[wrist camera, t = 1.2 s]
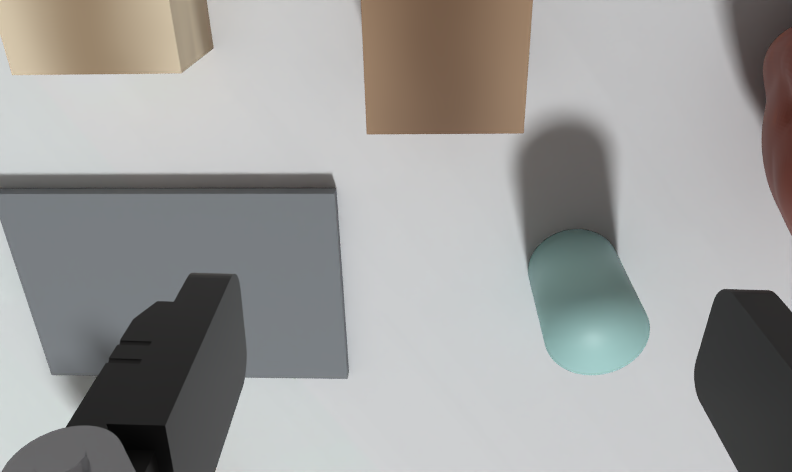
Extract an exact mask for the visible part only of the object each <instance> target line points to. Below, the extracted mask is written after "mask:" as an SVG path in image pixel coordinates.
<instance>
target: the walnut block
mask: <svg viewBox="0 0 792 472" xmlns="http://www.w3.org/2000/svg"><path fill="white" fill-rule="evenodd" d="M532 4H533V0H361V14H362V37H363V60H364V82H365V105H366V128H367V134H495V133H524V119H525V105H526V90H527V76H528V62H529V47H530V33H531V18H532Z"/></svg>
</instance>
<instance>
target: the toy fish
mask: <svg viewBox="0 0 792 472" xmlns="http://www.w3.org/2000/svg"><path fill="white" fill-rule="evenodd" d="M763 80H764V86H765V92H766V106H765V111H764V117H763V124H762V155H763V163H764V168H765V173H766V177H767V181H768V185H769V187H770V190H771V193H772V195H773V197H774V200H775V202H776V204H777V206H778V208H779V210H780V212H781V215H782V217H783V219H784V221H785V223H786V225H787V227H788V229H789V231H790V233H791V235H792V27H791V28H789V29H787V30H786V31H784V32H783V33H782V34H780V35H779V36H778V37H777V38H776V39H775V40H774V41H773V42H772V44H771V45H770V47H769V48H768V50H767V52H766V55H765V58H764V62H763Z"/></svg>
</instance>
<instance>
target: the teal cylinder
mask: <svg viewBox="0 0 792 472" xmlns="http://www.w3.org/2000/svg"><path fill="white" fill-rule="evenodd" d="M528 275H529V280H530V285H531V289H532V293H533V297H534V301H535V305H536V309H537V313H538V318H539V322H540V326H541V330H542V334H543V338H544V342H545V346H546V349H547V351H548V353H549V355H550V356H551V358H552V359H553V360H554V361H555V362H556V363H557V364H558V365H560V366H561V367H563V368H564V369H566V370H568V371H571V372H574V373H577V374H583V375H600V374H606V373H610V372H613V371H616V370H618V369H621V368H623V367H624V366H626V365H628V364H629V363H631V362H632V361H633V360H634V359H635V358H636V357H638V356H639V354H640V353H641V352H642V351H643V349H644V347H645V346H646V343H647V341H648V338H649V332H650V324H649V320H648V317H647V314H646V312H645V310H644V308H643V306H642V304H641V302H640V300H639V298H638V296H637V294H636V292H635V290H634V288H633V286H632V284H631V282H630V280H629V278H628V276H627V274H626V271H625V269H624V267H623V265H622V263H621V261H620V259H619V257H618V255H617V253H616V251H615V249H614V248H613V246H612V244H611V243H610V242H609V241H608V240H607V239H606V238H604V237H603V236H601V235H600V234H597V233H595V232H592V231H589V230H583V229H572V230H566V231H562V232H559V233H556V234H554V235H552V236H550V237H548V238H547V239H546V240H544V241H543V242H542V243H541V244H540V245H539V246H538V247H537V248H536V249H535V251H534V253H533V254H532V256H531V258H530V262H529V266H528Z"/></svg>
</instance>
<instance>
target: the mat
mask: <svg viewBox="0 0 792 472" xmlns="http://www.w3.org/2000/svg"><path fill="white" fill-rule="evenodd" d="M0 220H1V223H2V226H3V229H4V232H5V235H6V238H7V241H8V244H9V247H10V251H11V254H12V257H13V260H14V263H15V266H16V269H17V272H18V275H19V278H20V281H21V284H22V287H23V290H24V293H25V296H26V299H27V302H28V305H29V308H30V311H31V314H32V317H33V320H34V323H35V326H36V329H37V332H38V335H39V338H40V341H41V344H42V347H43V350H44V353H45V356H46V359H47V362H48V365H49V368H50V371H51V374H52V375H96V376H98V375H99V373H100V371H101V370H102V368H103V367H104V365H105V363H108V362H109V357H110V355H111V354H112V352H113V351H114V349H115V347H116V346H117V345H119V344H120V339H121V338H122V336H123V334H124V333H125V331H126V330H127V328H128V326H129V325H130V323H131V322H132V320H133V319H134V318H135V317H137V316H138V315H139V314H141V313H142V312H143V311H145V310H146V309H147V308H149V307H150V306H151V305H153V304H154V303H155V302H157V301H170V302H174V300H175V299H176V297H177V295H178V293H179V291H180V289H181V288H182V286H183V284H184V282H185V280H186V279H187V277H188V275H189V274H190V273H226V274H236V275H237V276H238V278H239V282H240V289H241V299H242V308H243V318H244V328H245V337H246V348H247V364H246V374H245V377H247V378H323V379H348V373H349V366H348V351H347V337H346V322H345V308H344V293H343V279H342V264H341V250H340V235H339V221H338V206H337V192H336V188H0Z"/></svg>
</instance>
